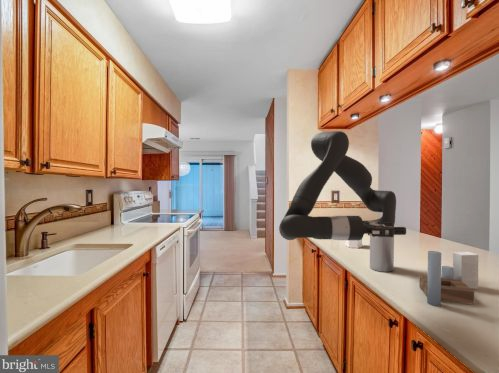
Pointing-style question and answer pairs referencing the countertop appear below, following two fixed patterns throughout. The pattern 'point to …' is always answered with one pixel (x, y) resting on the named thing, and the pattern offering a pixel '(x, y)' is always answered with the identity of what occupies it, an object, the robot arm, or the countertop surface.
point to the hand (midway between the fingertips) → (398, 228)
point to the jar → (353, 243)
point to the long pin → (434, 278)
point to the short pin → (447, 272)
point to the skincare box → (466, 268)
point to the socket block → (451, 290)
